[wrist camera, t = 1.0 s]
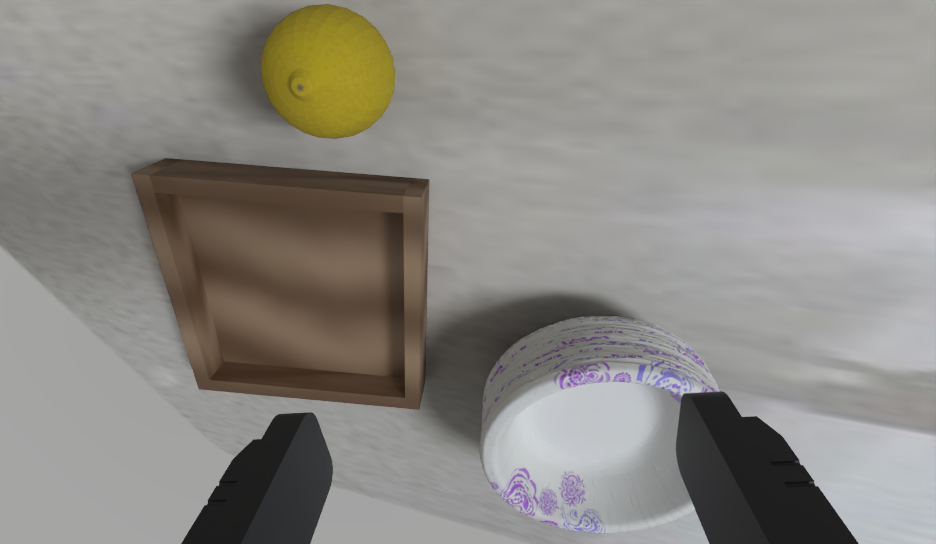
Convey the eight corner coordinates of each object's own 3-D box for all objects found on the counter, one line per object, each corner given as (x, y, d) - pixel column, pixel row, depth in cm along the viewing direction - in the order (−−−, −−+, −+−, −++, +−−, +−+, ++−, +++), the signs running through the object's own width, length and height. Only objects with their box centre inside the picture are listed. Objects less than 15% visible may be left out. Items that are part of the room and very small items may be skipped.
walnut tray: (165, 158, 28) (131, 173, 25) (429, 179, 27) (421, 197, 25) (220, 361, 36) (198, 389, 33) (425, 380, 35) (419, 409, 33)
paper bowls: (472, 430, 38) (466, 524, 31) (499, 273, 30) (498, 350, 23) (655, 454, 38) (689, 553, 31) (728, 302, 30) (794, 388, 23)
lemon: (329, 128, 26) (267, 171, 19) (288, 21, 24) (199, 26, 17) (421, 105, 25) (390, 141, 18) (388, -10, 23) (339, -17, 16)
